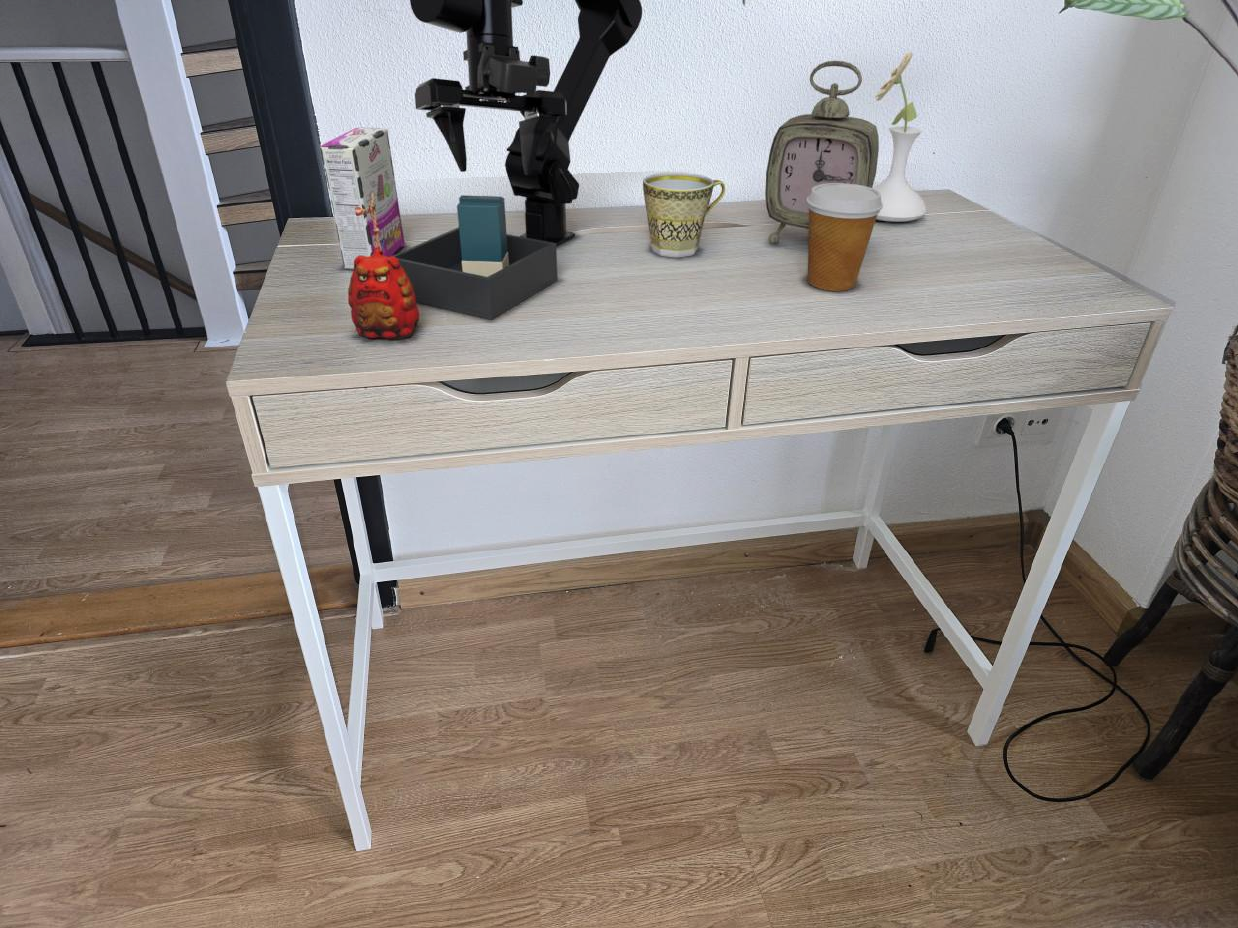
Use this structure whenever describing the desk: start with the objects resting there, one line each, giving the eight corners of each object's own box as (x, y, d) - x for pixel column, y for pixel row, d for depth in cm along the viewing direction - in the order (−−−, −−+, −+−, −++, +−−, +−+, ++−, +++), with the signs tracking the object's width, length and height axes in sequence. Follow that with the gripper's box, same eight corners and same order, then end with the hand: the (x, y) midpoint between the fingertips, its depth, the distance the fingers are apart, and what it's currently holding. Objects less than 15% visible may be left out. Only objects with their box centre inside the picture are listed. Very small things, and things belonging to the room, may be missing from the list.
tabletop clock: (758, 246, 122) (778, 61, 108) (771, 229, 129) (792, 54, 115) (856, 259, 117) (890, 68, 104) (864, 241, 124) (897, 60, 111)
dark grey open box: (465, 261, 114) (461, 225, 112) (557, 280, 109) (556, 243, 106) (392, 297, 103) (387, 257, 100) (491, 320, 97) (488, 279, 94)
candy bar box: (373, 244, 120) (355, 126, 111) (405, 246, 120) (389, 128, 111) (340, 270, 111) (317, 143, 102) (375, 272, 110) (355, 145, 101)
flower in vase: (877, 204, 142) (907, 44, 128) (937, 218, 135) (975, 51, 121) (834, 218, 134) (860, 49, 121) (895, 234, 127) (930, 57, 114)
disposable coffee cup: (870, 275, 112) (887, 186, 105) (864, 300, 104) (882, 205, 98) (800, 267, 114) (813, 179, 108) (790, 290, 107) (802, 197, 100)
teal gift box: (471, 281, 106) (463, 192, 100) (510, 283, 106) (504, 193, 100) (464, 293, 103) (455, 201, 96) (504, 294, 103) (498, 202, 96)
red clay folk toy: (347, 343, 91) (322, 208, 83) (363, 318, 97) (341, 190, 89) (415, 344, 91) (397, 209, 83) (427, 319, 97) (411, 191, 89)
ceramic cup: (662, 265, 114) (665, 193, 108) (628, 245, 121) (630, 176, 116) (739, 252, 119) (745, 182, 114) (702, 233, 126) (707, 167, 121)
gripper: (444, 13, 90) (454, 163, 93) (587, 36, 100) (590, 170, 104) (408, 36, 98) (418, 172, 102) (543, 54, 109) (547, 178, 113)
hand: (496, 173), depth 105 cm, fingers open, 9 cm apart
